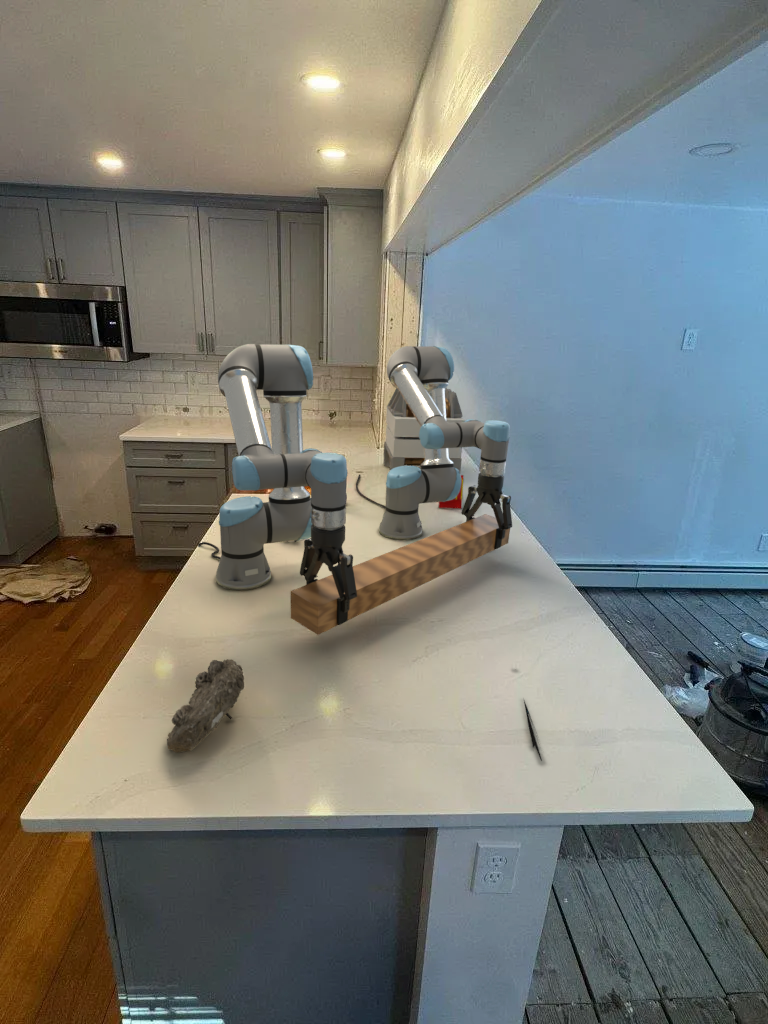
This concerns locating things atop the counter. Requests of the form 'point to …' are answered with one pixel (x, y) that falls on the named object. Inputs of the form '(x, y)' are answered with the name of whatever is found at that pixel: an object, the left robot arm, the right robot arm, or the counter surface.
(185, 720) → the fossil
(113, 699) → the counter surface
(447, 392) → the grey wooden crate
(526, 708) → the feather
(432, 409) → the right robot arm
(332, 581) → the wooden beam
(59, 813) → the counter surface
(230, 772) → the counter surface
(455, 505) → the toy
